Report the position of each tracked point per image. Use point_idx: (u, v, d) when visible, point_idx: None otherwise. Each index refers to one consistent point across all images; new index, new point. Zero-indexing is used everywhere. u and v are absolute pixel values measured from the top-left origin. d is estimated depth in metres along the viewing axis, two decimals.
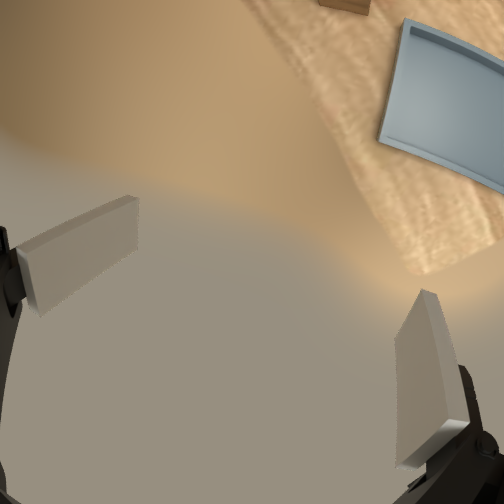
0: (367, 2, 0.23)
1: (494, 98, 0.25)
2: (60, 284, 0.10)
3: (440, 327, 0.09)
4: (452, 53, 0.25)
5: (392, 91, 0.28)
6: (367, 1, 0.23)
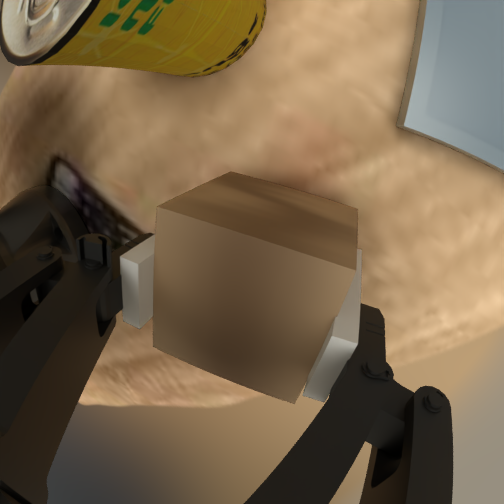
0: None
1: None
2: None
3: None
4: (440, 24, 0.11)
5: None
6: None
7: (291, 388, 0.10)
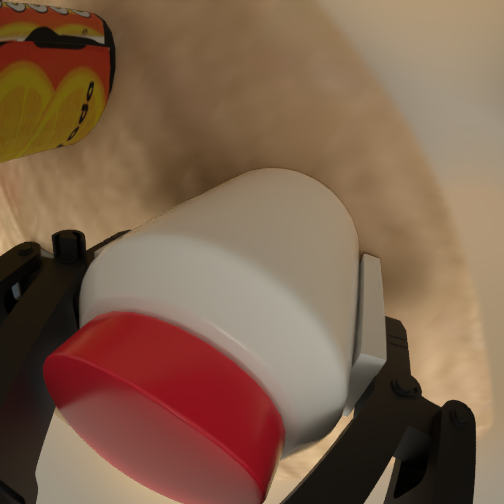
0: None
1: None
2: None
3: (374, 283, 0.11)
4: None
5: None
6: None
7: None
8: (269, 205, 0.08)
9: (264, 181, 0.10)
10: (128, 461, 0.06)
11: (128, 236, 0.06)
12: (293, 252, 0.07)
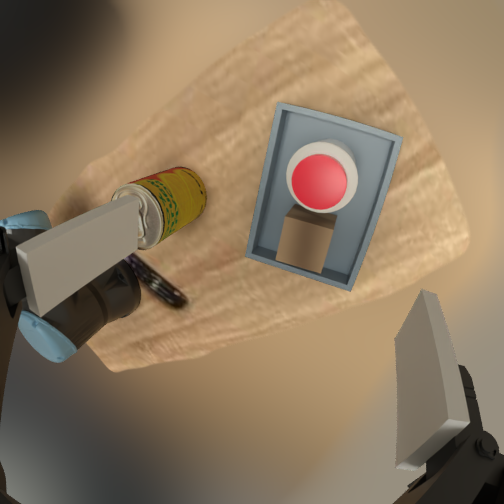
0: None
1: None
2: (60, 284, 0.10)
3: (440, 327, 0.09)
4: (269, 208, 0.44)
5: (309, 277, 0.43)
6: (333, 228, 0.37)
7: (319, 266, 0.38)
8: (335, 142, 0.33)
9: (330, 139, 0.35)
10: (312, 191, 0.30)
11: (311, 143, 0.31)
12: (343, 148, 0.31)
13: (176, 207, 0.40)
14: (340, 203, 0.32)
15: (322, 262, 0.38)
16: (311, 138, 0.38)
